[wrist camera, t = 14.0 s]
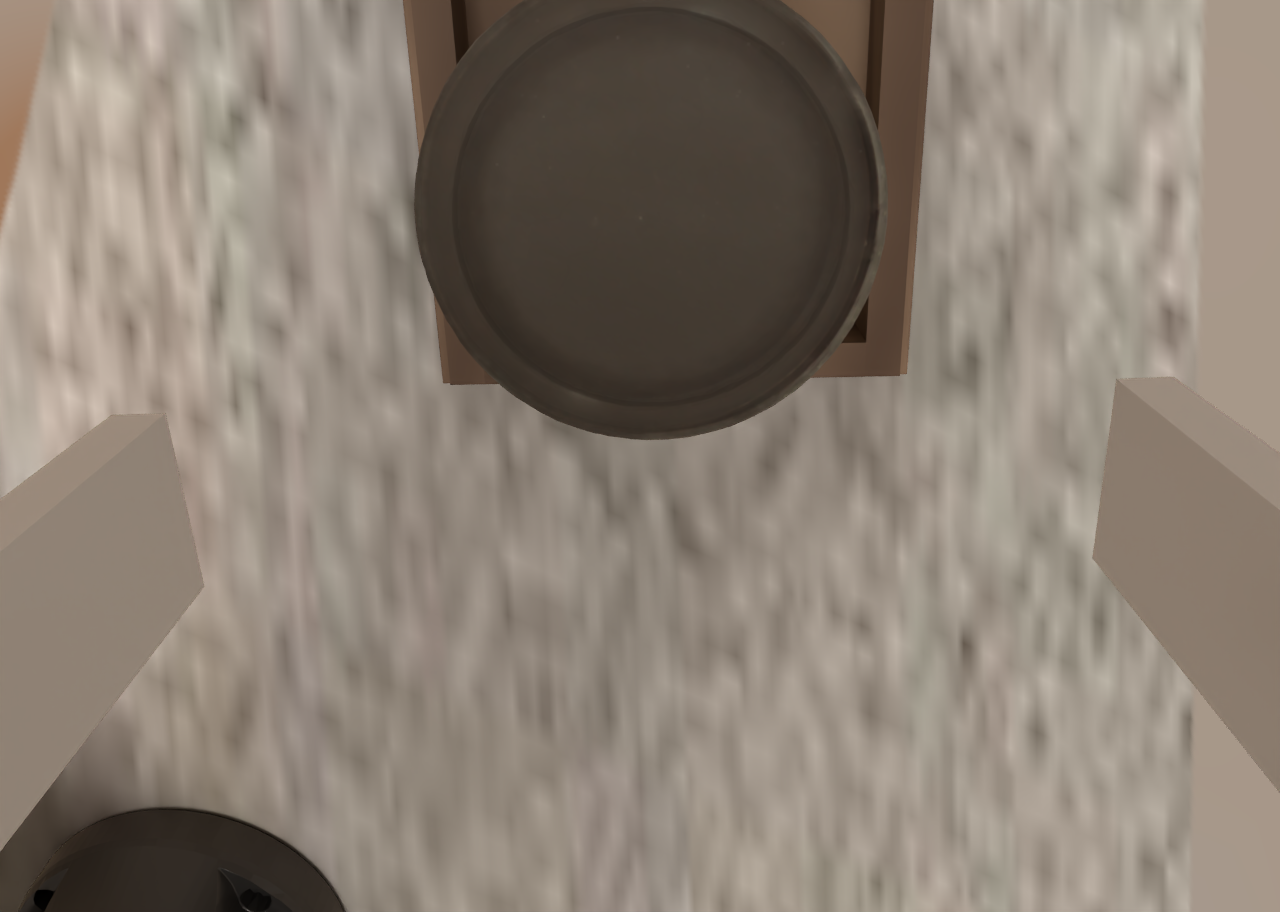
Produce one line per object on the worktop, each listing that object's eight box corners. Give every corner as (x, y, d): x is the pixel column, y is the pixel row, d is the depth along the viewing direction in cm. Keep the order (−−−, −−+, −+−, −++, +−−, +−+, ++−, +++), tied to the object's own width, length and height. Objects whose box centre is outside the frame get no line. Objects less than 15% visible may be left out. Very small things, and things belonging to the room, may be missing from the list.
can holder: (448, 374, 41) (429, 407, 38) (395, -136, 34) (367, -150, 31) (901, 365, 40) (921, 397, 37) (937, -155, 34) (965, -171, 30)
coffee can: (571, 330, 39) (523, 498, 26) (453, 44, 35) (330, 74, 22) (847, 232, 37) (942, 358, 24) (754, -79, 34) (809, -124, 21)
